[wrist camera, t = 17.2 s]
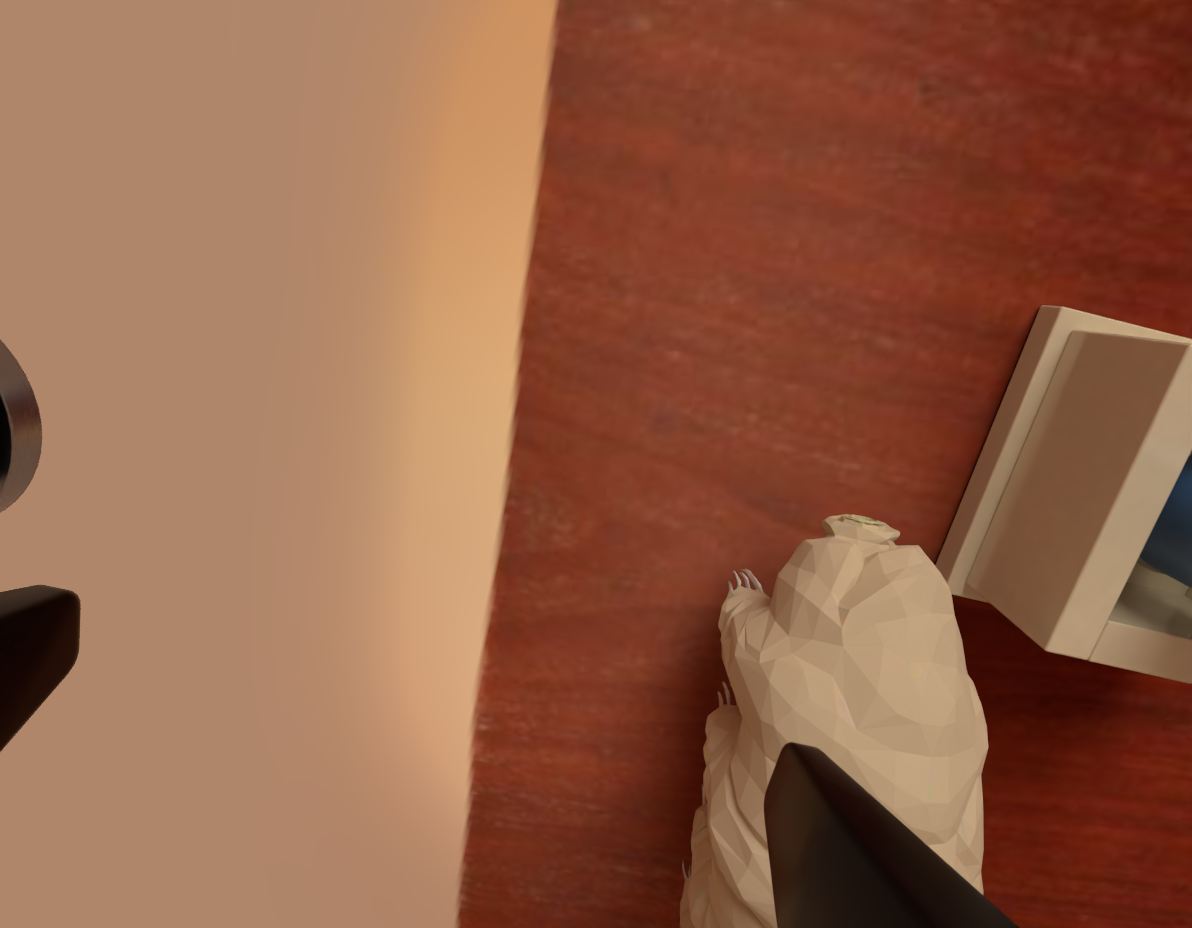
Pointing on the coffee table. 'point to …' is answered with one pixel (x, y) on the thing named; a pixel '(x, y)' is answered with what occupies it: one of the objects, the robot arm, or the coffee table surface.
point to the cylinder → (1173, 533)
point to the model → (838, 710)
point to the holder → (1082, 494)
